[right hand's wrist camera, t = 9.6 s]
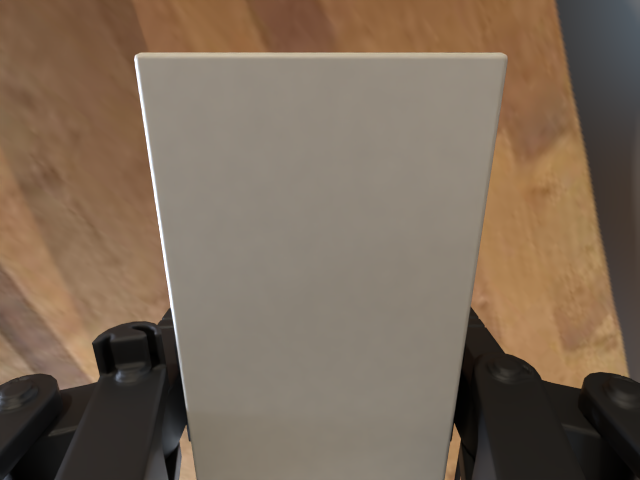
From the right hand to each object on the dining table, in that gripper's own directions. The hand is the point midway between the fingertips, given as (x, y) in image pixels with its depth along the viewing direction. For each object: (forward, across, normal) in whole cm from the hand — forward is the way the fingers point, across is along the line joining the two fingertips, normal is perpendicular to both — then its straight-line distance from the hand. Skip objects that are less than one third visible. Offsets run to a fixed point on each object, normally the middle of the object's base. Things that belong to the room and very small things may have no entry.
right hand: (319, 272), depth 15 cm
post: (+1, 0, -24) cm, 24 cm away
